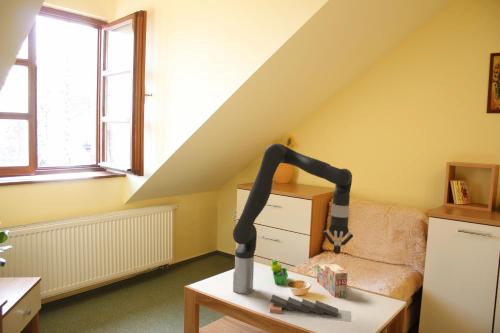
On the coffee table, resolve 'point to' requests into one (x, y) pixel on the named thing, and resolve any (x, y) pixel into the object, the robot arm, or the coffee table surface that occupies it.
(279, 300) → the domino
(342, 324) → the coffee table surface
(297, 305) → the domino
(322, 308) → the domino
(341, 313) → the mat
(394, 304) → the coffee table surface
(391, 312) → the coffee table surface
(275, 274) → the fruit basket
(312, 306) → the domino
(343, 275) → the multicoloured printed box
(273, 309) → the domino
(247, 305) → the coffee table surface
